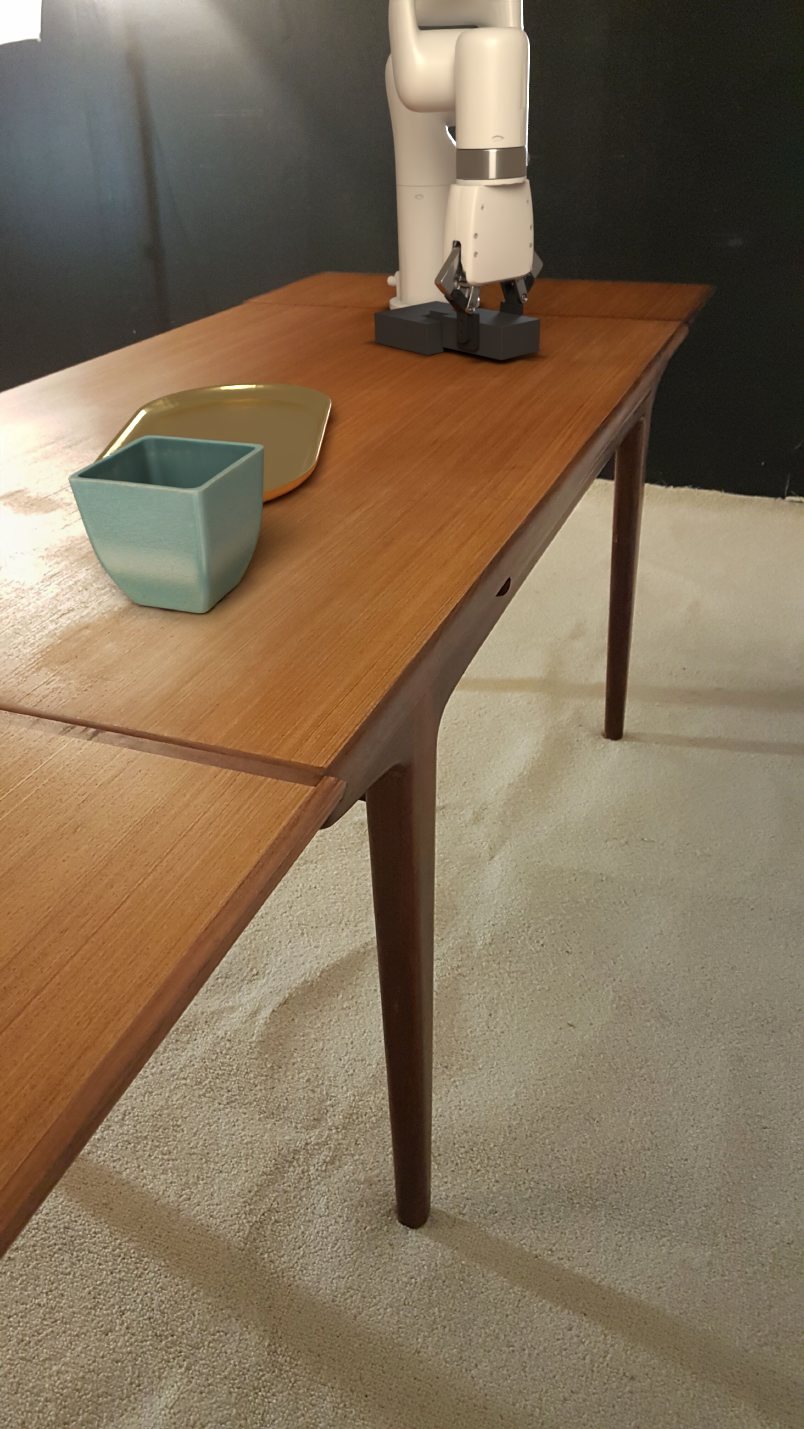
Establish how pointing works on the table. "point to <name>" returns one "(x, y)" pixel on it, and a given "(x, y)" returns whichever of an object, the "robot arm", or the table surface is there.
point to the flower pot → (174, 517)
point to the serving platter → (242, 425)
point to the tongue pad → (493, 333)
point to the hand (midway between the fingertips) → (489, 342)
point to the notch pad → (411, 328)
